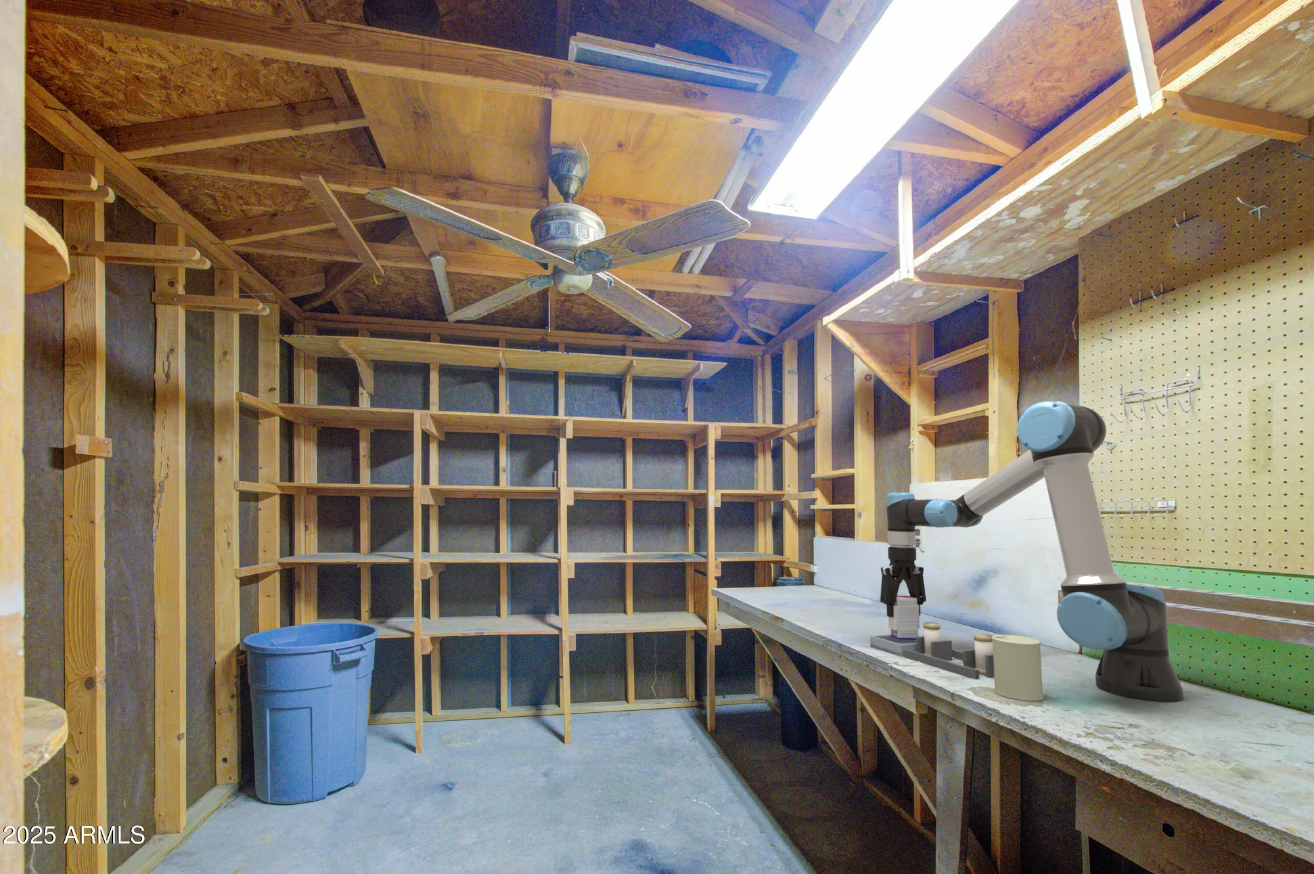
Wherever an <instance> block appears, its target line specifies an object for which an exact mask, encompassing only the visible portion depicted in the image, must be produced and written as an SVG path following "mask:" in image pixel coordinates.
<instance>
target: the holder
mask: <svg viewBox="0 0 1314 874" xmlns="http://www.w3.org/2000/svg"><path fill="white" fill-rule="evenodd" d="M924 652H925V648H924V635H923V636H922V635H921V636H920V637H916V652H915V651H912V650H909V649H904V656H903V657H904V658H905V657H906V659H909V660H912V659H913V661H915V662H918V661H920V662H919V663H921V662H922V663H921V664H925V663H926V664H925V665H928V666H932V667H934V668H937V667H938V668H937V669H942V670H945V671H948V672H951V673H954V674H957V675H961V676H964V677H967V678H971V679H973V680H980V674H979V670H977V669H975V667H976V664H975V648H970V649H962V650H959V649H955V648H953V640H951V639H946V640H941V641H931V656H929V655H926V654H924ZM952 657H954V658H952ZM953 659H956V660H959V659H961V660H960V661H962V662H963V663H962V664H963V665H962V664H960V663H956V662H953ZM948 660H950V661H948ZM985 661H986V678H989V679H990V678H991V679H992V678H994V658H993V654H991V655H985Z"/></svg>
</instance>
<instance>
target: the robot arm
mask: <svg viewBox="0 0 1314 874" xmlns="http://www.w3.org/2000/svg"><path fill="white" fill-rule="evenodd" d="M1106 425H1107V424H1106V423H1105V420H1104V419H1103V417H1102V416H1101V415H1100V414H1099V413H1098V412H1097V411H1095V410H1094V409H1092V408H1089V407H1087V406H1082V405H1075V404H1069V403H1066V402H1062V401H1059V400H1057V401H1056V400H1052V401H1049V400H1048V401H1046V400H1045V401H1041V402H1038V403H1035V404H1033V405H1030V407H1028V408H1027V409H1026V410H1025V411H1024V413H1022V414H1021V416H1020V417H1019V419H1018V422H1017V426H1016V427H1017V428H1016V432H1017V433H1016V434H1017V438H1018V440H1019V441H1020V443H1021V445H1022V446H1024V448H1026V449H1028V450H1027V451H1026V452H1024V453H1023V454H1021V455H1019V456H1018V457H1016V458H1015V459H1014V460H1012V461H1010V462H1009V463H1008V464H1006V465H1005V466H1003V467H1002V468H1000V469H999V470H997V471H996V472H995V473H993V474H991V475H990V476H988V477H987V478H986V479H984V480H982V481H981V482H979V484H977V485H975V486H974V487H971V488H970V489H969V490H968V491H966V492H965V493H964V494H962V495H960V496H959V497H957V498H956V499H943V498H931V499H929V498H928V499H927V498H926V499H916V498H915V494H914V493H912V492H889V493H888V494H887V497H886V506H885V507H886V508H885V509H886V519H887V544H888V545H889V546H888V548H887V558H888V560H889V565H888V566H882V567H880V571H881V582H880V583H881V584H880V585H881V586H880V596H879V597H880V599H879V600H880V603H883V604H884V605H886V617H887V618H888V629H889V630H891V629H893V630H898V619H897V606H894V605H895V601H896V598H897V596H898V593H899V590H900V585H901V584H902V583H903V582H905V585H906V588H907V590H908V594H909V596H911V597H914V598H917V615H918V630H919V629H920V625H921V624H920V616H921V613H922V611H921V606H924V603H925V602H927V595H926V588H925V587H926V586H925V582H924V581H925V580H924V571H925V569H924V567H922V566H917V565H916V564H915V563H916V561H917V549H916V547H915V546H916V545H917V540H916V537H917V535H916V527H925V528H926V527H928V528H929V527H931V528H937V529H939V528H953V527H954V528H970V527H976V526H977V525H980V523H981V522H982V520H983V517H984V516H985V515H987V514H988V513H990V512H991V511H993V510H995V509H997V508H998V507H999V506H1001V505H1003V504H1004V503H1006V502H1008V501H1009V500H1011V499H1013V498H1014V497H1015V496H1017V495H1019V494H1021V493H1022V492H1023V491H1025V490H1027V489H1029V488H1030V487H1032V486H1033V485H1035V484H1036V483H1038V482H1039V481H1041V480H1043V479H1044V480H1045V485H1046V489H1047V494H1048V497H1049V502H1050V506H1051V511H1052V516H1053V521H1054V525H1055V530H1056V534H1057V538H1058V543H1059V546H1060V547H1059V548H1060V552H1061V555H1062V561H1063V565H1064V570H1065V573H1066V576H1065V578H1064V579H1063V580H1062V582H1061V583H1060V589H1061V594H1062V598H1061V600H1060V602H1059V603H1058V605H1057V608H1056V617H1057V622H1058V625H1059V626H1060V628H1061V630H1062V631H1063V633H1064V634H1065V635H1066V636H1067V637H1068V638H1069V639H1071V640H1072V641H1073V642H1075V643H1076V644H1077V645H1079V646H1081V647H1083V648H1087V649H1090V650H1091V649H1092V650H1095V651H1096V650H1100V651H1101V650H1102V653H1101V657H1100V659H1099V662H1098V664H1097V665H1098V666H1097V668H1096V672H1095V674H1094V675H1095V676H1094V677H1095V678H1094V679H1095V686H1096V687H1097V688H1098V689H1101V690H1103V691H1106V692H1109V693H1113V694H1116V695H1119V696H1124V697H1129V698H1134V699H1140V700H1147V701H1156V702H1157V701H1158V702H1177V701H1178V702H1179V701H1181V700H1183V699H1184V693H1183V691H1184V690H1183V686H1182V684H1181V682H1180V680H1179V677H1178V674H1177V673H1176V671H1175V669H1174V666H1173V665H1172V662H1171V659H1170V653H1169V637H1168V625H1167V624H1168V621H1167V609H1166V608H1167V604H1166V602H1165V596H1164V593H1163V591H1162V590H1161V589H1159V588H1156V587H1152V586H1147V585H1146V586H1145V585H1138V584H1137V585H1136V584H1128V583H1126V581H1125V580H1124V579H1123V578H1121V577H1120V576H1118V575H1117V574H1116V573H1115V571H1114V567H1113V563H1112V559H1111V555H1110V551H1109V546H1108V542H1107V537H1106V535H1105V531H1104V526H1103V522H1102V517H1101V513H1100V509H1099V505H1098V500H1097V497H1096V493H1095V488H1094V484H1093V481H1092V476H1091V472H1090V468H1089V462H1090V461H1092V459H1093V458H1094V457H1095V454H1094V452H1095V451H1096V450H1098V449H1099V448H1100V447H1101V446H1102V444H1104V441H1105V439H1106V435H1107V426H1106ZM890 600H891V601H890Z"/></svg>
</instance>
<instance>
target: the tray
mask: <svg viewBox="0 0 1314 874" xmlns="http://www.w3.org/2000/svg"><path fill="white" fill-rule="evenodd" d="M869 637H870V639H869V640H870V641H869V643H870V644H869V645H870V647H869V648H872V649H876V650H879V651H882V652H885V653H888V654H892V655H895V656H897V657H902V658H903V657H904V649H909V650H912V651H915V652H916V640H898V639H896V638H894V637H893V636H891V634H884V635H883V634H881V635H871V636H870V635H869ZM918 637H921V636H920V635H918Z"/></svg>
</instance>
